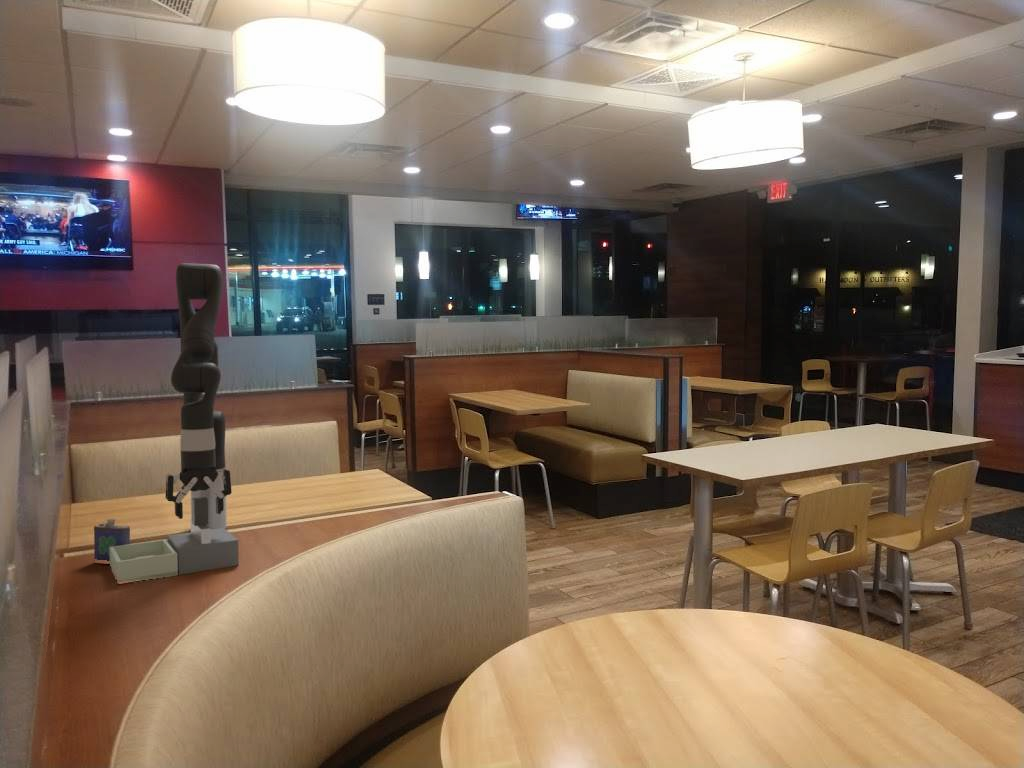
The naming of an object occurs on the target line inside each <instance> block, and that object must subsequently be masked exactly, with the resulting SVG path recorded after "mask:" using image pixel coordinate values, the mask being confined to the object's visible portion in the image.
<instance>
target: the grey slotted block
mask: <svg viewBox="0 0 1024 768" xmlns="http://www.w3.org/2000/svg"><path fill="white" fill-rule="evenodd" d="M210 531H211V543H210V544H203V545H201V544H200V543H199V542H198V541H197V540H196V539H195V538H194V537H193V536H192V535H191V531H190V532H183V533H175V534H169V535H166V536H167V541H168V543H169V544H170V545H171V546H172V548H173V549H174V550H175V551H176V552H177V559H178V576H179V575H186V574H192V573H198V572H205V571H211V570H217V569H218V570H219V569H223V568H230V567H235V566H239V562H240V560H239V539H238V538H237V537H235V536H234V535H233V534H232V533H230V531H228V530H227V528H220V529H213V530H210Z"/></svg>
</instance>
